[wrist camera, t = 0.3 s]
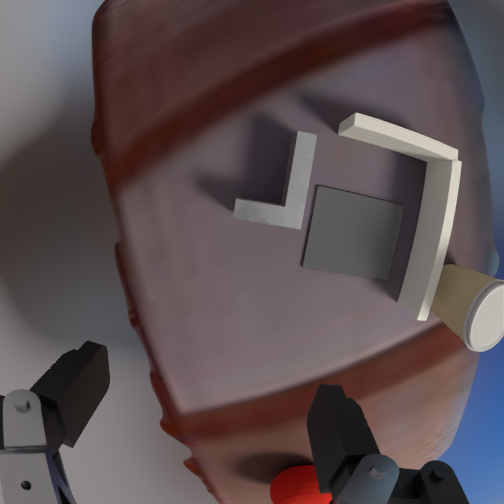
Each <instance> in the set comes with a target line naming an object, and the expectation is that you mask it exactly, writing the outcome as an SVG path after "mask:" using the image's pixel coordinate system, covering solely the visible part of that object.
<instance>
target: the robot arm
mask: <svg viewBox="0 0 504 504" xmlns="http://www.w3.org/2000/svg"><path fill="white" fill-rule="evenodd" d="M109 383H110V373H109V363H108V351H107V347H106V346H104V345H101V344H98V343H94V342H91V341H86V342H85V343H84V344H83V345H82V346H81V347H80V348H79V350H75V349H73V350H71V351H69V352H67V353H65V354H63V355H62V356H61V357H60V358H59V359H58V360H57V361H56V363H54V364H53V365H52V366H51V367H50V369H48V370H47V371H46V373H45V374H44V375H43V376H42V377H41V378H40V379H39V380H38V381H37V382H36V383H35V384H34V385H33V387H32V388H31V389H30V390H24V389H19V390H14V391H12V392H10V393H9V394H7V395H6V396H2V395H0V478H1V485H2V491H3V497H4V503H5V504H77V503H76V501H75V499H74V497H73V495H72V492H71V489H70V486H69V483H68V480H67V477H66V473H65V470H64V466H63V463H62V459H61V455H60V452H59V448H60V446H61V445H62V444H65V445H67V446H69V447H71V448H73V447H74V445H75V443H76V441H77V440H78V438H79V436H80V435H81V433H82V431H83V430H84V428H85V426H86V425H87V423H88V421H89V420H90V418H91V416H92V415H93V413H94V412H95V410H96V408H97V406H98V405H99V404H100V402H101V400H102V399H103V397H104V396H105V394H106V392H107V390H108V388H109ZM364 417H365V416H364V414H363V411H362V409H361V407H360V406H359V405H358V404H357V403H356V402H355V401H354V400H353V399H352V398H346V396H345V393H344V391H343V389H342V386H341V385H330V384H321V385H320V386H319V387H318V390H317V392H316V395H315V397H314V400H313V403H312V405H311V408H310V410H309V413H308V417H307V430H308V435H309V440H310V445H311V450H312V455H313V460H314V465H315V470H316V475H317V481H318V486H319V491H320V494H323V493H331V496H332V500H331V501H330V502H329V504H469V502H468V500H467V498H466V495H465V494H464V491H463V489H462V487H461V485H460V483H459V481H458V479H457V477H456V475H455V473H454V471H453V469H452V468H451V467H450V466H449V465H447V464H446V463H444V462H442V461H437V460H434V461H429V462H427V463H426V464H425V465H424V466H423V467H422V468H421V469H420V470H414V469H404V468H399V467H398V465H397V464H396V462H395V461H394V460H393V459H391V458H390V457H388V456H386V455H382V454H381V453H380V451H379V449H378V446H377V444H376V442H375V439H374V437H373V435H372V432H371V430H370V427H369V426H368V423H367V421H366V418H364Z"/></svg>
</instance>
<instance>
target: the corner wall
mask: <svg viewBox="0 0 504 504" xmlns="http://www.w3.org/2000/svg"><path fill="white" fill-rule="evenodd" d="M338 135H341V136H345V137H349V138H353V139H356V140H360V141H363V142H367V143H370V144H374V145H377V146H381V147H384V148H387V149H390V150H393V151H396V152H399V153H402V154H405V155H408V156H411V157H414V158H417V159H420V160H423V161H425V162H427V168H426V176H425V183H424V190H423V196H422V202H421V207H420V213H419V218H418V223H417V228H416V233H415V237H414V242H413V246H412V251H411V255H410V259H409V263H408V267H407V270H406V274H405V278H404V281H403V285H402V288H401V292H400V295H399V299H398V302H397V303H398V304H399V305H401V306H402V307H403V308H404V309H405V310H406V311H407V312H409V313H410V314H411V315H412V316H413V317H414V318H415V319H417V320H423V321H426V319H427V317H428V314H429V311H430V308H431V305H432V302H433V299H434V295H435V292H436V289H437V285H438V282H439V279H440V275H441V271H442V268H443V264H444V260H445V256H446V252H447V248H448V243H449V239H450V234H451V229H452V224H453V219H454V214H455V208H456V202H457V195H458V188H459V181H460V172H461V163H462V162H461V161H458V160H457V159H458V150H456V149H454V148H452V147H450V146H448V145H445V144H443V143H441V142H438V141H436V140H434V139H431V138H429V137H426V136H424V135H421V134H419V133H416V132H413V131H411V130H408V129H405V128H403V127H400V126H397V125H394V124H391V123H388V122H385V121H382V120H379V119H376V118H373V117H370V116H366V115H363V114H360V113H356V112H355V113H354V114H352V115H351V116H350V117H348V118H347V119H345V120H344V121H342V122H341V123H340V124H339V132H338Z"/></svg>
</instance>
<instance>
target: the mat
mask: <svg viewBox="0 0 504 504" xmlns="http://www.w3.org/2000/svg"><path fill="white" fill-rule="evenodd" d="M404 207H405V206H402V205H398V204H394V203H390V202H386V201H383V200H379V199H375V198H371V197H366V196H362V195H358V194H354V193H350V192H345V191H341V190H336V189H332V188H327V187H322V186H318V187H317V192H316V198H315V203H314V209H313V214H312V220H311V225H310V230H309V235H308V240H307V245H306V250H305V255H304V260H303V265H302V267H305V268H311V269H317V270H324V271H330V272H336V273H343V274H349V275H356V276H362V277H369V278H375V279H382V280H388V278H389V274H390V270H391V266H392V262H393V258H394V254H395V250H396V246H397V241H398V237H399V232H400V227H401V223H402V218H403V212H404Z"/></svg>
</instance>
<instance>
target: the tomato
mask: <svg viewBox="0 0 504 504" xmlns="http://www.w3.org/2000/svg"><path fill="white" fill-rule="evenodd" d="M270 496H271V500H272V502H273V504H329V502H330V501H331V499H332V496H331V493H323V494H320V491H319V486H318V481H317V475H316V470H315V465H302V466H295V467H291V468H288V469H286V470H284V471H282V472H280V473H279V474H278V475H277V476H276V477H275V478H274V479H273V481H272V483H271V486H270Z"/></svg>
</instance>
